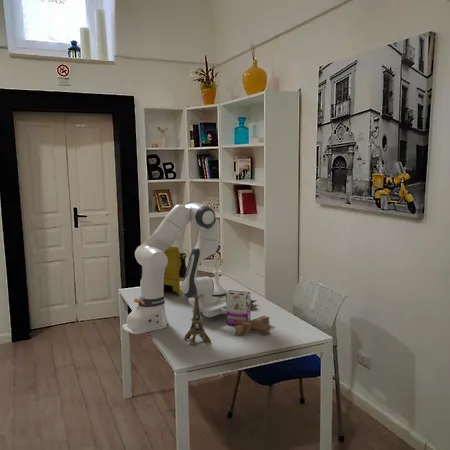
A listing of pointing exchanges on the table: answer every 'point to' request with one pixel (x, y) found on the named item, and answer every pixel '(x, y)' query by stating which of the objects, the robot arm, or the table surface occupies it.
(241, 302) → the candy bar box
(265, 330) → the walnut T stop
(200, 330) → the eiffel tower
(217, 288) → the flower in vase
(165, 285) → the vintage telephone
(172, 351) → the table surface
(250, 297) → the ceramic sculpture
